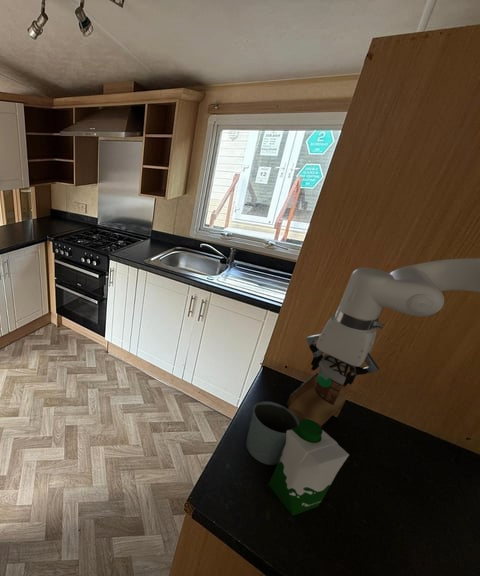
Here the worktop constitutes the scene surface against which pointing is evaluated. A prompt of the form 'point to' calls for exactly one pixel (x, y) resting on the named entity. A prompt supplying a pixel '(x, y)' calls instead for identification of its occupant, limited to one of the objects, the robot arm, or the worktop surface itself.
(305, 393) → the paper bag
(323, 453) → the milk carton
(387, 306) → the robot arm
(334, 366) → the food container
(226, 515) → the worktop surface
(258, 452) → the grey cup
